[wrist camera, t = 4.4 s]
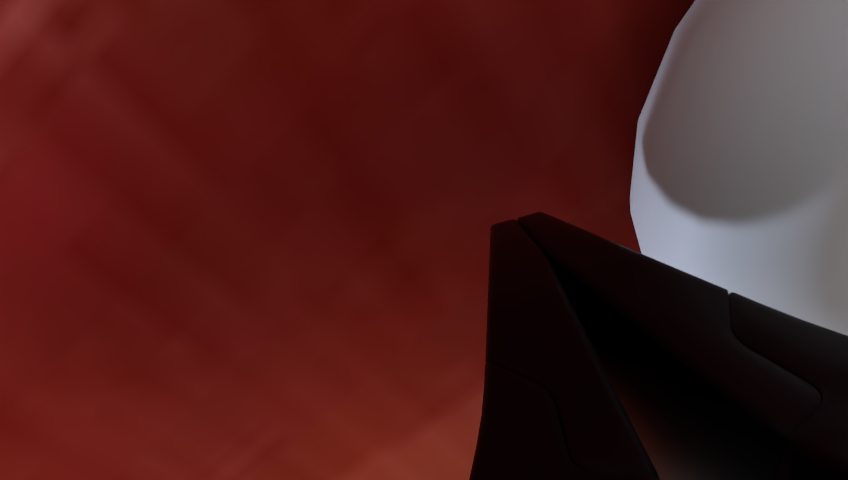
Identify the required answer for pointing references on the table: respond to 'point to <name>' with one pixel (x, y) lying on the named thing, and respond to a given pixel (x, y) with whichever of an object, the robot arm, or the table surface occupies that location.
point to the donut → (751, 154)
